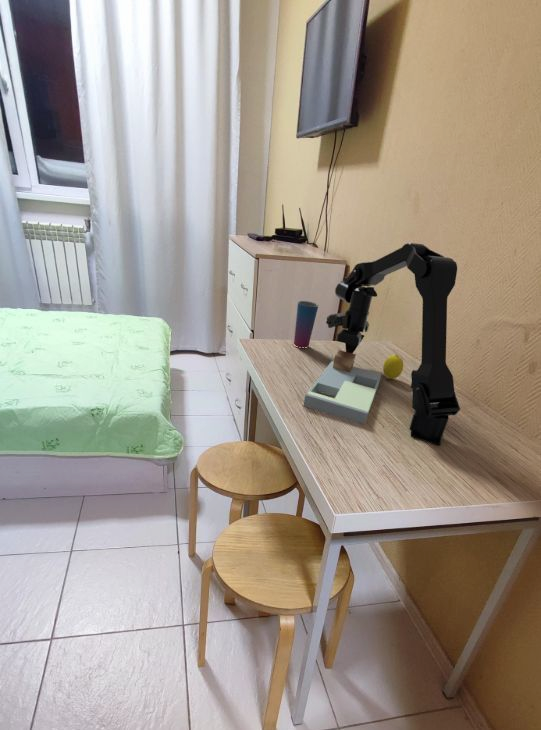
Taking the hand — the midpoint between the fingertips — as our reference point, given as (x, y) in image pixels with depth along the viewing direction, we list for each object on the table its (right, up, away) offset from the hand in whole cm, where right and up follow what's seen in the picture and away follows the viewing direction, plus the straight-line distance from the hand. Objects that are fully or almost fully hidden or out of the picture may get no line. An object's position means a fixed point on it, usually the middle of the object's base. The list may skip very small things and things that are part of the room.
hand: (347, 357), depth 116 cm
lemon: (+12, -7, -2) cm, 14 cm away
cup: (-13, +4, +14) cm, 20 cm away
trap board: (-4, -10, -14) cm, 17 cm away
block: (-3, -3, -5) cm, 6 cm away
